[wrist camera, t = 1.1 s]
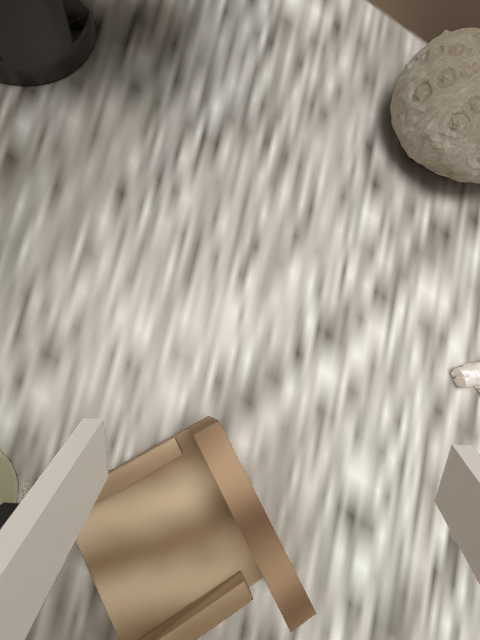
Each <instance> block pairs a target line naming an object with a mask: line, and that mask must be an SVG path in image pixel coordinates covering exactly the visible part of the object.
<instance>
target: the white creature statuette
mask: <svg viewBox="0 0 480 640" xmlns="http://www.w3.org/2000/svg"><path fill="white" fill-rule="evenodd" d="M451 375H452V377H454V379H453V381H454V382H455V383H456V385H457V386H459V387H461V388H469V387H472V386H474V387H475V388H476V389H477V392H479V393H480V362H472V363H467V364H465V365H464V366H462V367H458V368H456V369H454V370H453V371H452V373H451Z"/></svg>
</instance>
